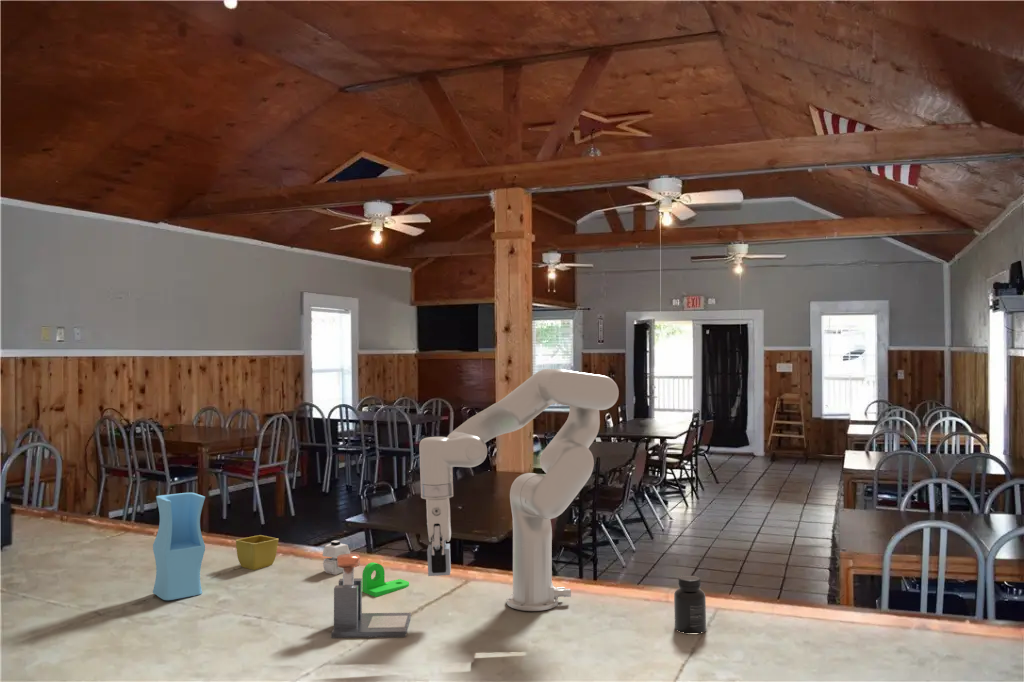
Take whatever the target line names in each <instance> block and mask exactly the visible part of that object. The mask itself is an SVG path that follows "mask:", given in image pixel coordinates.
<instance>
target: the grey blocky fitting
mask: <svg viewBox="0 0 1024 682" xmlns="http://www.w3.org/2000/svg"><path fill="white" fill-rule="evenodd" d="M342 554H351V551H350V549H349V545H348V544H345V543H341V541H340V540H332V541H331V542H330V543H328V544H326V545H324V547H323V551H322V557H327V558H324V559H323V561H322V564H323V569H324V571H325V573H326V574H330V575H338V574H343V568H340V567H337V556H339V555H342Z"/></svg>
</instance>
